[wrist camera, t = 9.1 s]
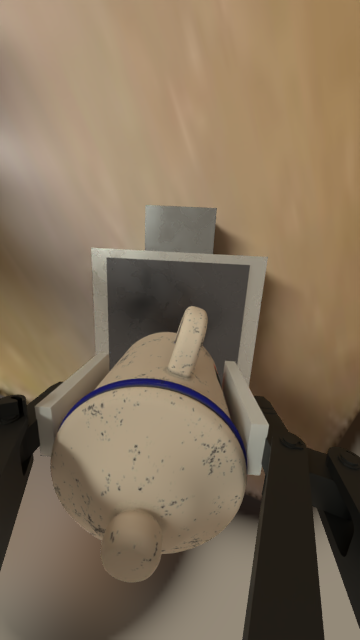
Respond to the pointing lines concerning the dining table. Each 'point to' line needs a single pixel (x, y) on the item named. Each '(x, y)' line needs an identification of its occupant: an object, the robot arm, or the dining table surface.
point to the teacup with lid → (152, 453)
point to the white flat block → (178, 288)
